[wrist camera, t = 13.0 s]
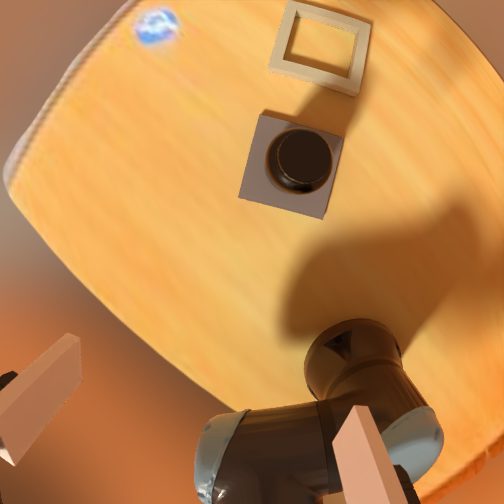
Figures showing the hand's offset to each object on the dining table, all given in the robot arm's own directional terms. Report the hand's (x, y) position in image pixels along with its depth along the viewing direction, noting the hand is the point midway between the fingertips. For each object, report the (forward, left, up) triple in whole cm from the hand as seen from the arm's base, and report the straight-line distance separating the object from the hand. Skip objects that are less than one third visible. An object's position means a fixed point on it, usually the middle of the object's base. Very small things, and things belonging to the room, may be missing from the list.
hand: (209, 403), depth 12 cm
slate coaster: (-3, -13, -29) cm, 32 cm away
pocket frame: (-3, -31, -29) cm, 42 cm away
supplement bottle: (-3, -13, -28) cm, 31 cm away
